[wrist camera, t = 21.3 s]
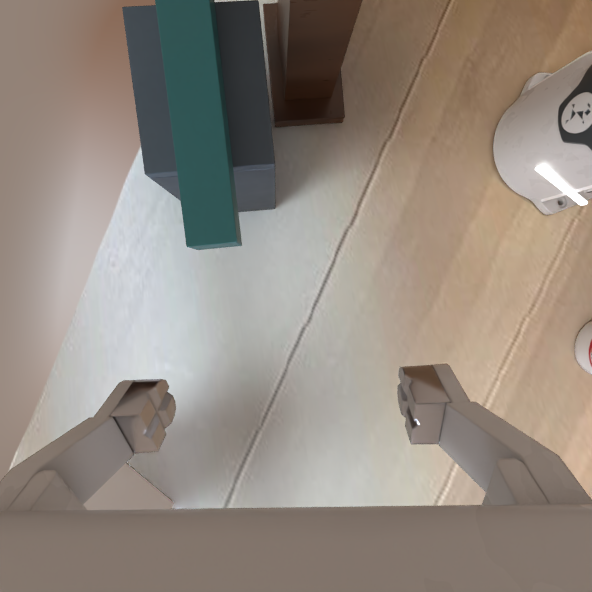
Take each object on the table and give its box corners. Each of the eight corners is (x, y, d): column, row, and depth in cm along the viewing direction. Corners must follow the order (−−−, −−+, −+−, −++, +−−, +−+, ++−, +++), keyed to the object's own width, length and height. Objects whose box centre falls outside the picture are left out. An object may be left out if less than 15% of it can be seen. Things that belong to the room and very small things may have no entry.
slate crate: (275, 208, 42) (275, 164, 24) (200, 215, 41) (144, 174, 24) (265, 115, 41) (258, -1, 23) (188, 121, 40) (121, 6, 23)
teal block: (241, 245, 25) (237, 242, 22) (197, 250, 24) (186, 246, 21) (206, -72, 23) (195, -123, 20) (157, -70, 22) (139, -122, 19)
